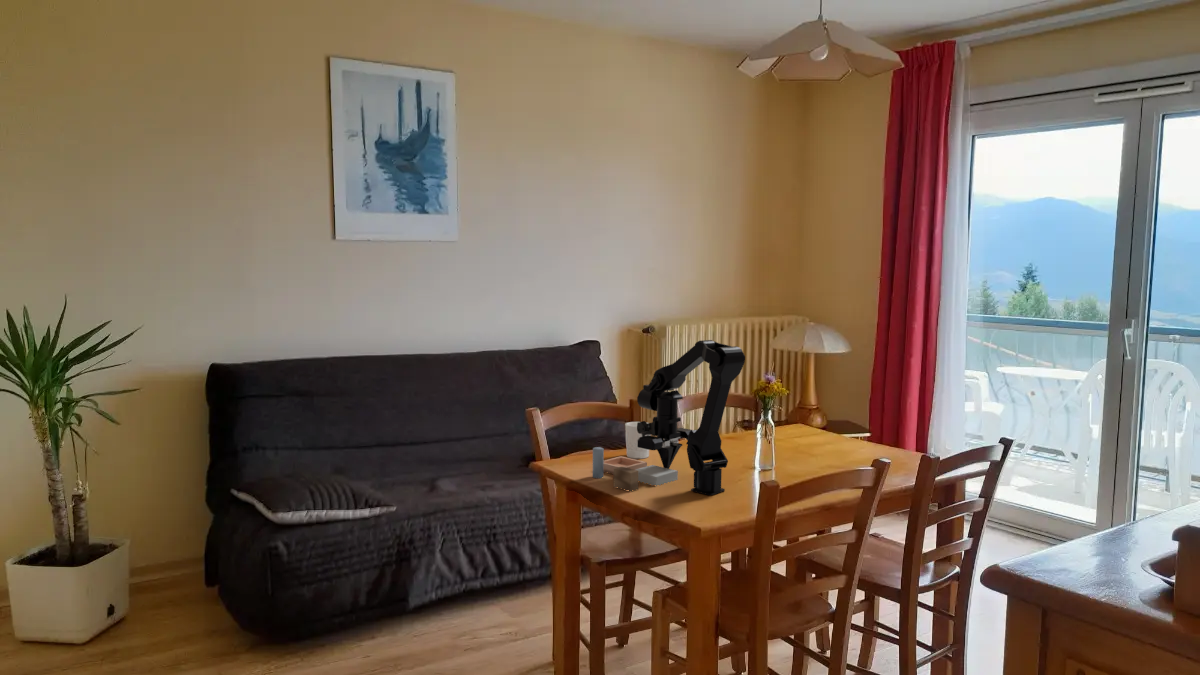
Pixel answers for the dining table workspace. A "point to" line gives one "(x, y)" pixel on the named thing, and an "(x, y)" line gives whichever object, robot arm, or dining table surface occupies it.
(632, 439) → the white cup
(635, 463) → the tray
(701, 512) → the dining table surface
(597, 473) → the dowel
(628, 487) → the block
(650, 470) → the flat grey square block
